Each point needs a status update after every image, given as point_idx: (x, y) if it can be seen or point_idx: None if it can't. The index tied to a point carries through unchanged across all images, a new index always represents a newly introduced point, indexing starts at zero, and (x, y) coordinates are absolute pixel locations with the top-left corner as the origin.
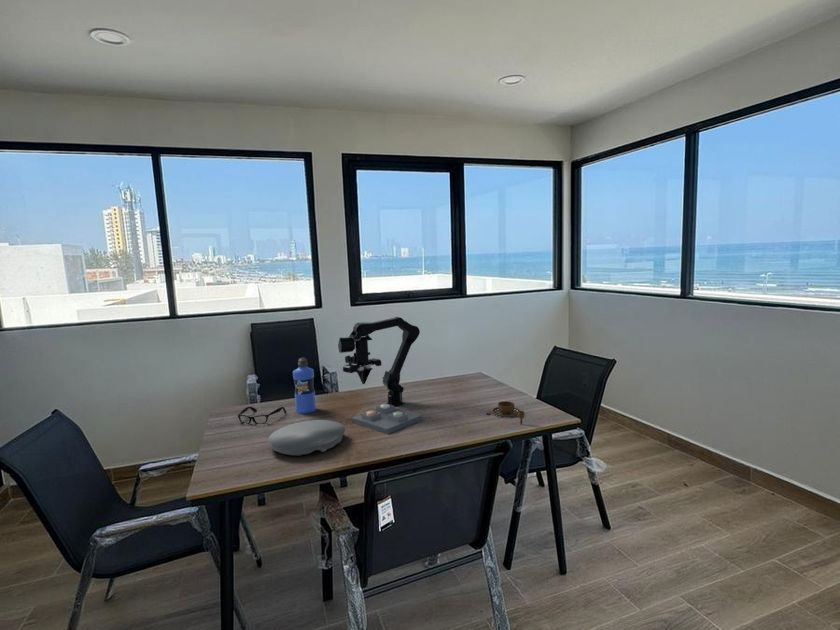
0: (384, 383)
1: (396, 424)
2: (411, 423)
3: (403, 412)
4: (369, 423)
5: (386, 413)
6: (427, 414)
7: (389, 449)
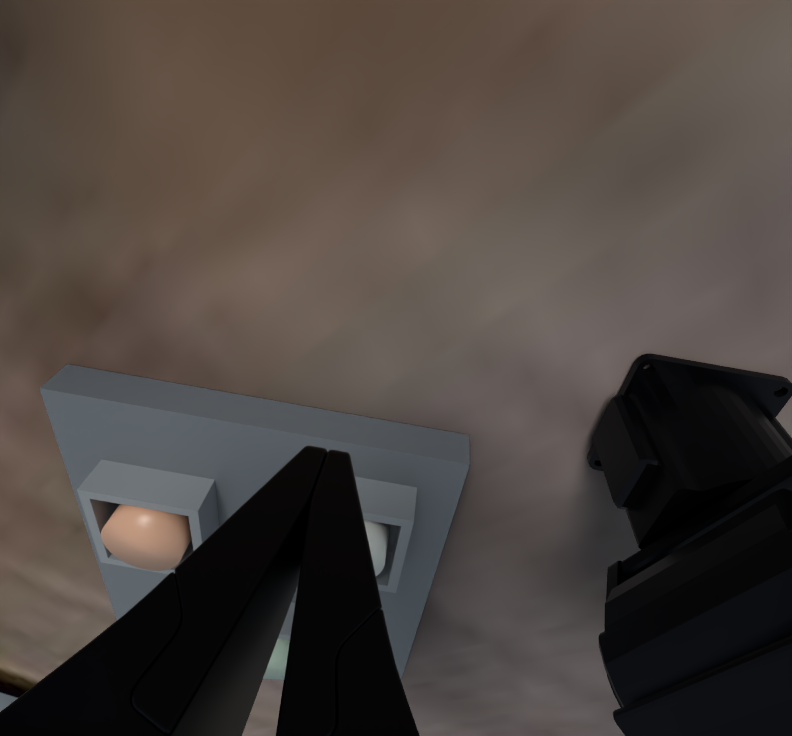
0: (714, 581)
1: None
2: None
3: None
4: (91, 542)
5: None
6: (501, 652)
7: (47, 656)
